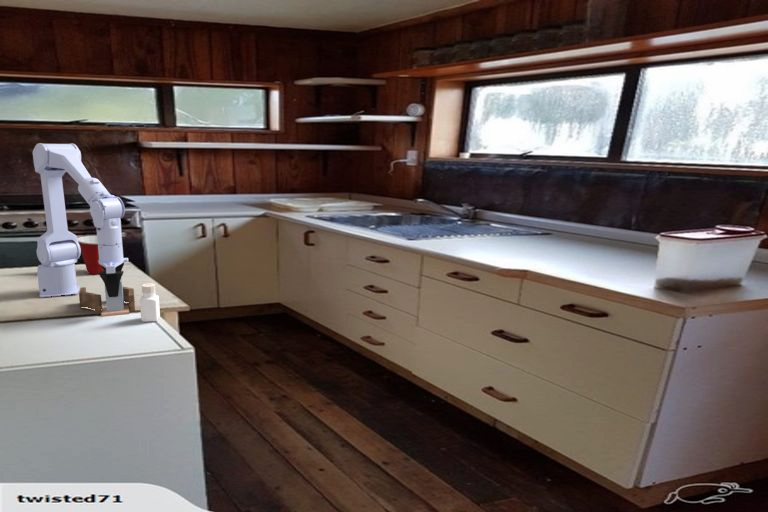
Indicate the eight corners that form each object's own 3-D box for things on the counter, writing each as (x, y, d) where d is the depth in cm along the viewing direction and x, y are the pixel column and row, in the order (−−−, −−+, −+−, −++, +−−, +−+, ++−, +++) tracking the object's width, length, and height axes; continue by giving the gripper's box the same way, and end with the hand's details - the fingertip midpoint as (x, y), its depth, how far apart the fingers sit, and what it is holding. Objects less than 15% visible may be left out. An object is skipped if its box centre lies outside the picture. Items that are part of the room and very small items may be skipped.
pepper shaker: (157, 322, 133) (155, 287, 131) (140, 322, 132) (138, 287, 130) (160, 316, 137) (158, 282, 135) (144, 317, 136) (142, 282, 134)
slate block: (107, 311, 137) (104, 283, 135) (107, 307, 140) (105, 279, 139) (123, 310, 139) (121, 281, 137) (124, 305, 142) (121, 278, 140)
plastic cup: (109, 277, 170) (106, 241, 167) (74, 276, 169) (70, 241, 166) (121, 268, 181) (118, 235, 178) (88, 268, 179) (85, 234, 176)
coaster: (101, 316, 135) (101, 314, 135) (102, 309, 140) (102, 307, 140) (129, 313, 138) (128, 311, 138) (129, 306, 143) (129, 304, 143)
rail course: (78, 316, 135) (76, 300, 134) (82, 302, 145) (80, 287, 144) (134, 310, 140) (133, 295, 139) (134, 298, 150) (133, 283, 149)
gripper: (126, 248, 131) (130, 299, 134) (127, 237, 143) (130, 283, 147) (95, 250, 128) (99, 301, 131) (98, 238, 140) (102, 285, 144)
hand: (114, 292), depth 139 cm, fingers open, 7 cm apart
